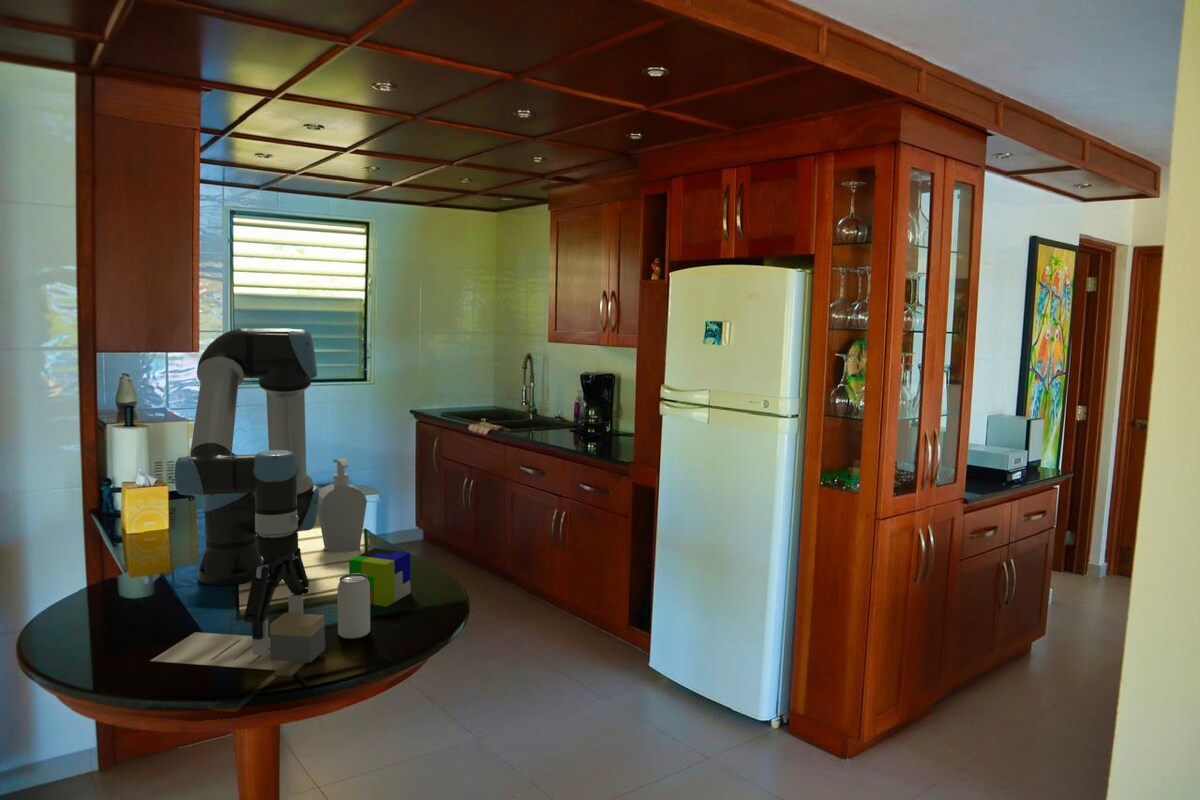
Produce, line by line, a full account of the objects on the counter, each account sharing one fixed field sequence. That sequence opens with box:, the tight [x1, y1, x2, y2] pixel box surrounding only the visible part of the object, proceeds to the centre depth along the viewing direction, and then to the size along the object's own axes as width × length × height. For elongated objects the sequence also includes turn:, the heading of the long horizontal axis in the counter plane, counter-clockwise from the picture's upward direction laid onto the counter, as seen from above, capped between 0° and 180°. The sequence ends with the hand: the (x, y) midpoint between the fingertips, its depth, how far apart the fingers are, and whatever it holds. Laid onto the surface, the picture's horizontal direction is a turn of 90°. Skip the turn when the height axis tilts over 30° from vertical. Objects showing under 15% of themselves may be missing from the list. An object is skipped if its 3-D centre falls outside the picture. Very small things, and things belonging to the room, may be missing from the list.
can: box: [336, 573, 371, 640], centre depth 170 cm, size 6×6×12 cm
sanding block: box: [269, 612, 326, 663], centre depth 157 cm, size 8×6×7 cm
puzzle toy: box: [348, 547, 411, 608], centre depth 192 cm, size 10×10×10 cm
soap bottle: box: [317, 458, 368, 554], centre depth 228 cm, size 12×10×26 cm
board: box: [149, 631, 327, 677], centre depth 158 cm, size 28×14×1 cm, turn 83°
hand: (279, 640), depth 157 cm, fingers open, 13 cm apart
